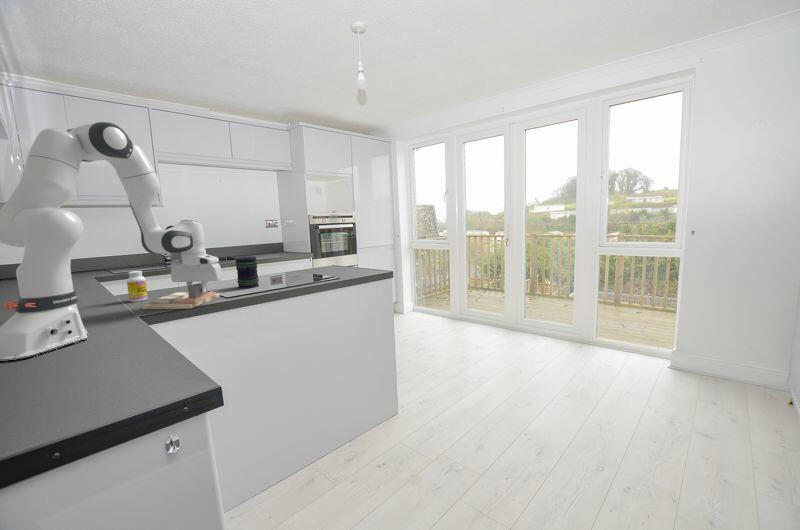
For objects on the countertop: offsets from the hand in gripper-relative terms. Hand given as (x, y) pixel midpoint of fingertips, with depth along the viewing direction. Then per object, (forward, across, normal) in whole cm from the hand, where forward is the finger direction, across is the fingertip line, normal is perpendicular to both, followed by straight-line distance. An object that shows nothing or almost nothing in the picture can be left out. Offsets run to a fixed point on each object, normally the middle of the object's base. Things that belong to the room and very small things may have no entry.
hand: (198, 292), depth 147 cm
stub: (+3, 0, 0) cm, 3 cm away
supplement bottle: (+5, -31, +5) cm, 32 cm away
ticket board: (+4, -7, 0) cm, 8 cm away
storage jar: (+4, +6, +31) cm, 32 cm away
